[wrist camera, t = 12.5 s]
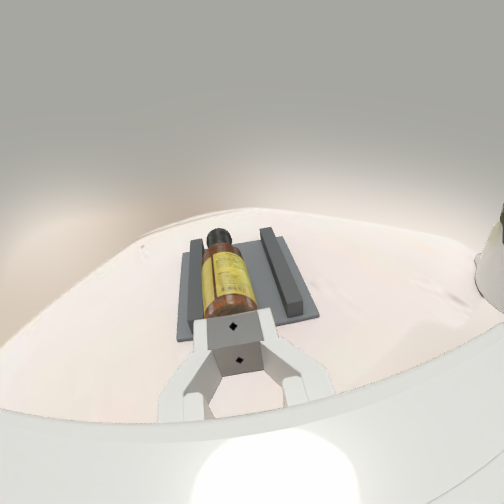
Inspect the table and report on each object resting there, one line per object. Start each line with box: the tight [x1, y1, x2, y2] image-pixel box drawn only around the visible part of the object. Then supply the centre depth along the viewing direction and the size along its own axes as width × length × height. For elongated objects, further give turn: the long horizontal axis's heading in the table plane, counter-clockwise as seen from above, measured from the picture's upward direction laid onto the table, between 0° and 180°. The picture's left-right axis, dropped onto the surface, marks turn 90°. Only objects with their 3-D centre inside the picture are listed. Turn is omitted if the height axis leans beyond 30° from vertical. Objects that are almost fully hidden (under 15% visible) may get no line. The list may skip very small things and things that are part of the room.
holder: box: [177, 227, 319, 342], centre depth 42 cm, size 18×20×3 cm
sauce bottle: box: [201, 228, 258, 319], centre depth 39 cm, size 6×6×20 cm
